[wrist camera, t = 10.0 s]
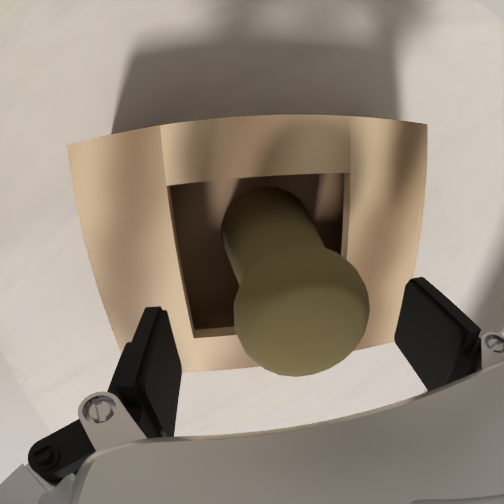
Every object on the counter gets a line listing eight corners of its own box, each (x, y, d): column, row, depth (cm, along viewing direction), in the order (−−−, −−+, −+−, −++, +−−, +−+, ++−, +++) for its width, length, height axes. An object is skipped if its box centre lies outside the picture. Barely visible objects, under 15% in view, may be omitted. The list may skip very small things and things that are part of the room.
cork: (203, 214, 18) (185, 317, 8) (288, 169, 18) (371, 223, 8) (247, 286, 21) (270, 415, 11) (323, 247, 20) (403, 352, 10)
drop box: (375, 122, 18) (427, 124, 12) (364, 296, 23) (397, 340, 18) (110, 139, 17) (67, 145, 11) (146, 320, 22) (130, 373, 17)
